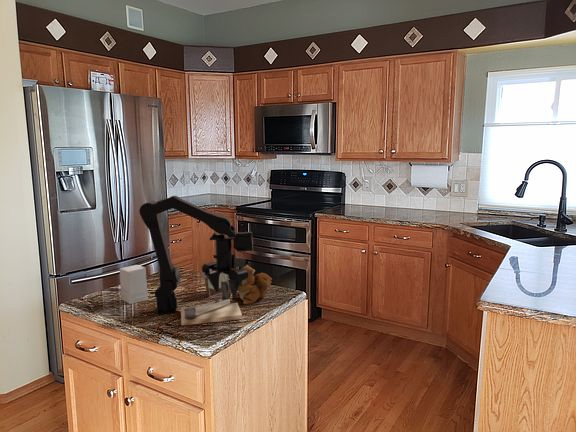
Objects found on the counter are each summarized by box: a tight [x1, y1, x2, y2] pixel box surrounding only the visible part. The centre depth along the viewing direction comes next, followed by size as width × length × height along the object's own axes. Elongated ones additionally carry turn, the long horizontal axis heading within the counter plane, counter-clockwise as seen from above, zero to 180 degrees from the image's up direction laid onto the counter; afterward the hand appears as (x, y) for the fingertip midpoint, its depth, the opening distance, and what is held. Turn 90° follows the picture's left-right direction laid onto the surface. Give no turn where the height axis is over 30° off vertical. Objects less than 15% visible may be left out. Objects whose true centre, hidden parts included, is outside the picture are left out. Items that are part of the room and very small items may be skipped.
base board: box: [180, 302, 243, 326], centre depth 154 cm, size 20×12×2 cm, turn 104°
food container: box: [201, 272, 229, 298], centre depth 177 cm, size 12×6×10 cm, turn 141°
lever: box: [184, 281, 231, 319], centre depth 153 cm, size 19×4×8 cm, turn 138°
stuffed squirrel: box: [233, 264, 273, 305], centre depth 170 cm, size 10×14×13 cm
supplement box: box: [119, 264, 149, 305], centre depth 170 cm, size 7×7×13 cm
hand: (225, 294), depth 159 cm, fingers open, 9 cm apart
